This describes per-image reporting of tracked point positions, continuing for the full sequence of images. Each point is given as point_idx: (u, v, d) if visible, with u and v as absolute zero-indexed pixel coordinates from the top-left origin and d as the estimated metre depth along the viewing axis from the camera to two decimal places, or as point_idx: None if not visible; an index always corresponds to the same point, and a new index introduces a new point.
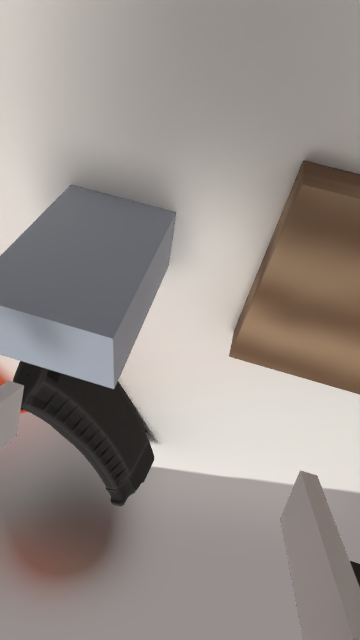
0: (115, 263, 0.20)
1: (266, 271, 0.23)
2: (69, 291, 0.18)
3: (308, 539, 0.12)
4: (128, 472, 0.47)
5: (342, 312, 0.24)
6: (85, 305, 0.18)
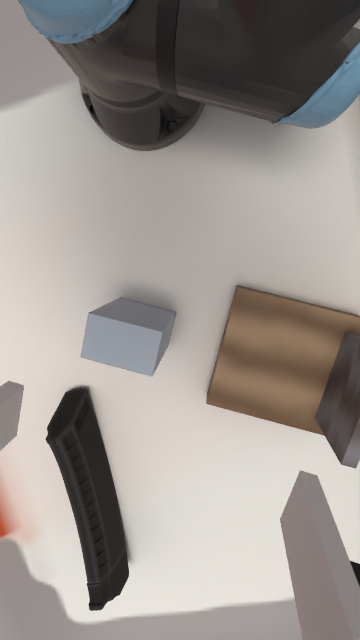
0: (153, 317, 0.41)
1: (225, 334, 0.44)
2: (136, 320, 0.38)
3: (308, 539, 0.12)
4: (110, 567, 0.48)
5: (267, 357, 0.44)
6: (145, 323, 0.37)
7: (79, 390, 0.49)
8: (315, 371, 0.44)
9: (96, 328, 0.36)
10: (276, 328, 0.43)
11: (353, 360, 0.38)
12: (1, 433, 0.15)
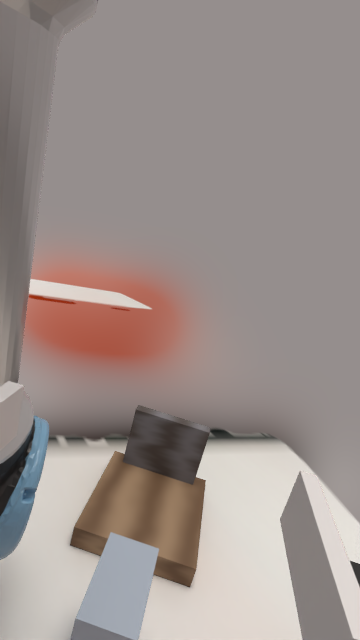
0: None
1: None
2: None
3: (308, 539, 0.12)
4: None
5: (144, 510, 0.49)
6: None
7: None
8: (154, 480, 0.55)
9: (98, 609, 0.27)
10: (117, 501, 0.49)
11: (142, 442, 0.55)
12: (1, 433, 0.15)
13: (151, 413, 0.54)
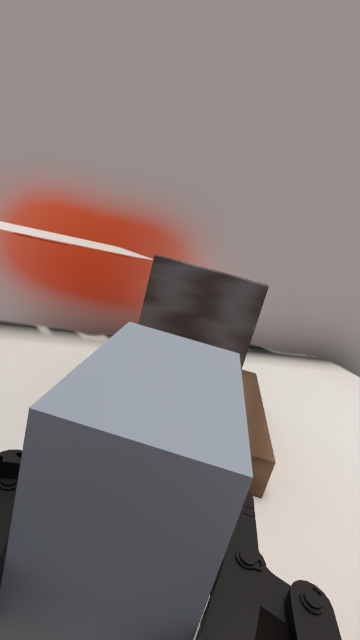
0: None
1: None
2: None
3: None
4: None
5: None
6: None
7: None
8: None
9: (108, 402, 0.09)
10: None
11: (164, 310, 0.37)
12: None
13: (178, 261, 0.35)
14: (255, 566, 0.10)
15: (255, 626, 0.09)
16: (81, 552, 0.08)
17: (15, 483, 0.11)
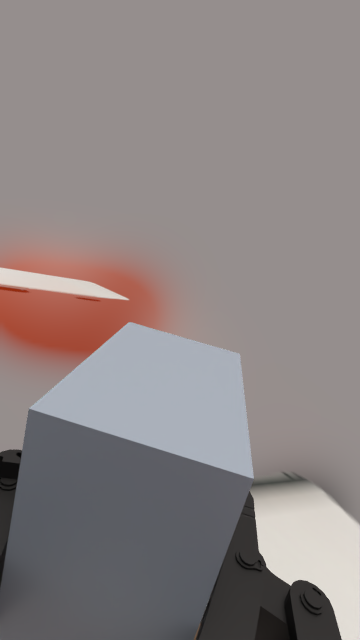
0: None
1: None
2: None
3: None
4: None
5: None
6: None
7: None
8: None
9: (108, 403, 0.09)
10: None
11: None
12: None
13: None
14: (255, 566, 0.10)
15: (255, 626, 0.09)
16: (81, 553, 0.08)
17: (15, 483, 0.11)
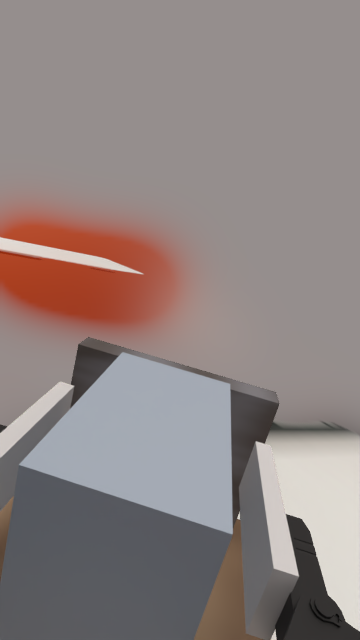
0: None
1: None
2: None
3: (255, 497, 0.14)
4: None
5: None
6: None
7: None
8: None
9: (96, 452, 0.09)
10: None
11: None
12: None
13: None
14: (332, 620, 0.09)
15: None
16: (69, 598, 0.09)
17: None
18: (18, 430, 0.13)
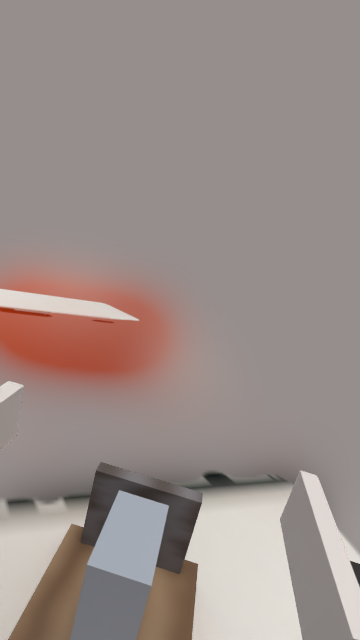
0: None
1: None
2: None
3: (308, 538, 0.12)
4: None
5: None
6: None
7: None
8: None
9: (110, 556, 0.27)
10: (63, 619, 0.32)
11: (107, 516, 0.39)
12: (1, 433, 0.15)
13: (118, 475, 0.38)
14: None
15: None
16: (101, 606, 0.26)
17: None
18: None
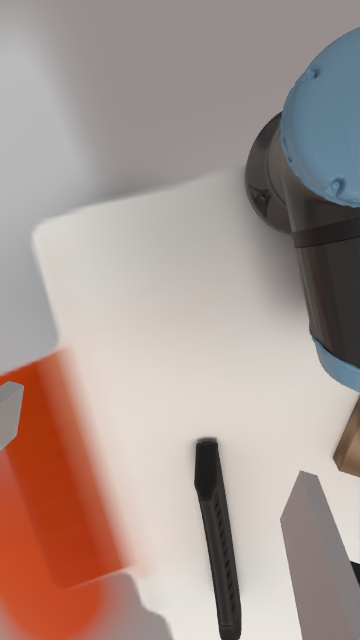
0: None
1: None
2: None
3: (308, 538, 0.12)
4: (237, 608, 0.52)
5: None
6: None
7: (210, 443, 0.52)
8: None
9: None
10: None
11: None
12: (1, 433, 0.15)
13: None
14: None
15: None
16: None
17: None
18: None
